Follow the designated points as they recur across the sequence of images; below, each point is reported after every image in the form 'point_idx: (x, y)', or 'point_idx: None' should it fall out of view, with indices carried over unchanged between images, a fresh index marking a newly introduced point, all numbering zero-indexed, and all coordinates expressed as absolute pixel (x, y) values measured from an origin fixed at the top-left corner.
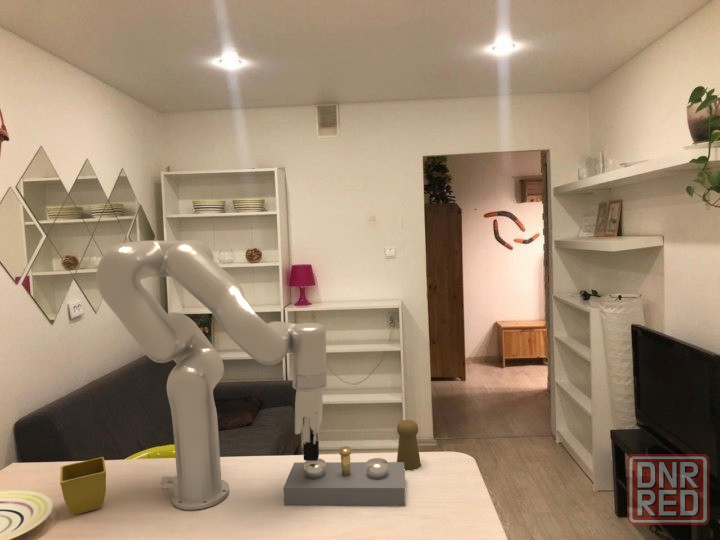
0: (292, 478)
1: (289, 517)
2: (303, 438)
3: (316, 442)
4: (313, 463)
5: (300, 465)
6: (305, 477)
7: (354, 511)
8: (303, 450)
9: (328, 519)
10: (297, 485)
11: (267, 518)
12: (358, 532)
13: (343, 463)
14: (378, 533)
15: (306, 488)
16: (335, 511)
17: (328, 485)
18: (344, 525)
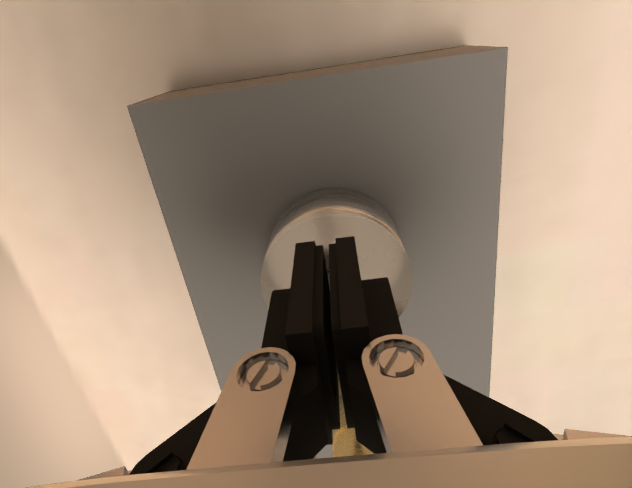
0: (260, 124)
1: (84, 156)
2: (211, 422)
3: (349, 425)
4: (329, 280)
5: (455, 115)
6: (290, 202)
7: (212, 377)
8: (292, 285)
9: (132, 310)
10: (184, 186)
11: (29, 44)
12: (98, 406)
13: (333, 439)
14: (116, 450)
15: (174, 242)
16: (193, 321)
17: (227, 339)
18: (117, 365)
